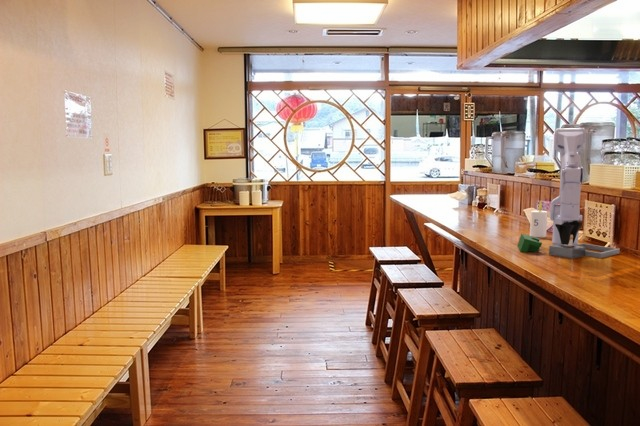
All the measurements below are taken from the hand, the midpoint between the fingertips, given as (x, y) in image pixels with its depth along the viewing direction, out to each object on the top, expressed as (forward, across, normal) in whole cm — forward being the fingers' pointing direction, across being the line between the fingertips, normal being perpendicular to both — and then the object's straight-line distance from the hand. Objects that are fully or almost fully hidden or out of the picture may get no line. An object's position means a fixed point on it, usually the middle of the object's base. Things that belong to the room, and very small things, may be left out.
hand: (567, 243), depth 166 cm
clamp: (+5, +1, -13) cm, 14 cm away
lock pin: (+4, 0, 0) cm, 4 cm away
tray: (+5, -11, +3) cm, 12 cm away
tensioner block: (+5, 0, 0) cm, 5 cm away
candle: (+5, -32, -28) cm, 43 cm away
